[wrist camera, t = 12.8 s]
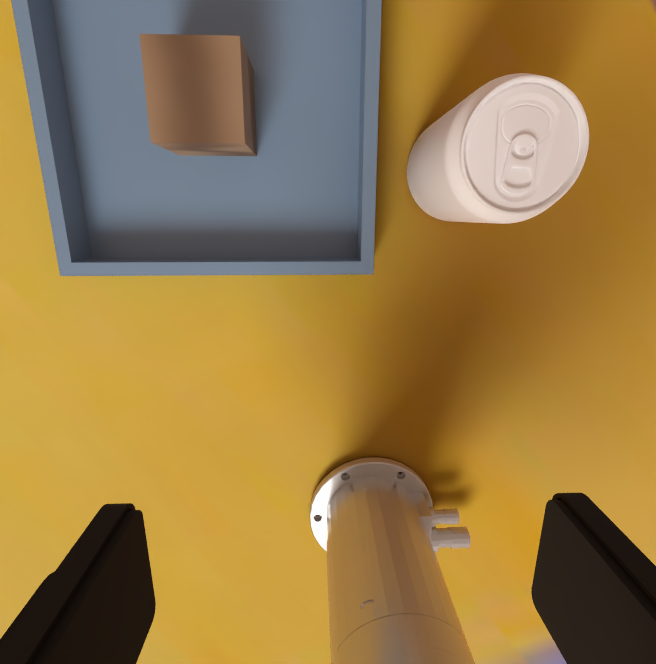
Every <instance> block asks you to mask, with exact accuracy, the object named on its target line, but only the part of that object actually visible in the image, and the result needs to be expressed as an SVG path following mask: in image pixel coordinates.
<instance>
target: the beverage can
mask: <svg viewBox="0 0 656 664" xmlns="http://www.w3.org/2000/svg"><path fill="white" fill-rule="evenodd" d="M588 146H589V126H588V121H587V117H586V114H585V111H584V108H583V106H582V104H581V103H580V101H579V99H578V98H577V97H576V95H575V94H574V93H573V92H572V91H571V90H570V89H569V88H568V87H567V86H565V85H564V84H562V83H561V82H559V81H557V80H555V79H552V78H550V77H546V76H540V75H535V74H529V73H516V74H509V75H505V76H502V77H499V78H496V79H494V80H491V81H489V82H488V83H486V84H484V85H483V86H481V87H480V88H478V89H477V90H476V91H474V92H473V93H472V94H470V95H469V96H468V97H467V98H465V99H464V100H463V101H461V102H460V103H459V104H457V105H456V106H455V107H453V108H452V109H451V110H450V111H448V112H447V113H446V114H444V115H443V116H442V117H440V118H439V119H438V120H436V121H435V122H434V123H433V124H431V125H430V126H429V127H428V128H426V129H425V130H424V131H423V132H422V134H421V135H420V136H419V137H418V139H417V140H416V142H415V144H414V145H413V147H412V150H411V152H410V155H409V159H408V164H407V181H408V186H409V189H410V192H411V195H412V197H413V199H414V200H415V202H416V203H417V204H418V206H419V207H420V208H421V209H422V210H423V211H424V212H426V213H427V214H429V215H430V216H432V217H434V218H436V219H439V220H443V221H452V222H475V223H498V224H509V223H517V222H521V221H524V220H528V219H530V218H532V217H535V216H537V215H539V214H540V213H542V212H544V211H545V210H547V209H548V208H549V207H551V206H552V205H553V204H554V203H555V202H556V201H558V200H559V199H560V198H561V197H562V196H563V195H564V194H565V193H566V192H567V191H568V190H569V189H570V188H571V187H572V185H573V184H574V182H575V181H576V179H577V178H578V176H579V174H580V172H581V170H582V168H583V166H584V163H585V160H586V156H587V152H588Z"/></svg>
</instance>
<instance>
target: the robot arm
mask: <svg viewBox="0 0 656 664" xmlns="http://www.w3.org/2000/svg"><path fill="white" fill-rule="evenodd" d="M441 523H445V524H459V513H458V510H457V509H443V510H434V509H433V504H432V500H431V497H430V494H429V491H428V489H427V487H426V485H425V483H424V482H423V480H422V479H421V478H420V476H419V475H418V474H417V473H416V472H414V471H413V470H412V469H411V468H409V467H408V466H406V465H404V464H402V463H400V462H397V461H394V460H391V459H386V458H380V457H370V458H362V459H356V460H353V461H350V462H347V463H345V464H343V465H341V466H339V467H337V468H336V469H334V470H333V471H331V472H330V473H329V474H328V475H327V476H325V477H324V479H323V480H322V481H321V482H320V484H319V485H318V486H317V488H316V490H315V492H314V494H313V497H312V501H311V504H310V524H311V528H312V531H313V534H314V536H315V538H316V540H317V541H318V543H319V544H320V545H321V546H322V548H323V549H324V550H325V551H326V552H327V575H328V600H329V624H330V648H331V664H475V663H474V660H473V657H472V654H471V652H470V649H469V646H468V644H467V641H466V639H465V636H464V633H463V630H462V628H461V625H460V622H459V619H458V617H457V614H456V611H455V608H454V605H453V603H452V600H451V597H450V594H449V592H448V589H447V586H446V583H445V581H444V578H443V575H442V572H441V569H440V567H439V564H438V561H437V558H436V556H435V553H434V552H437V551H438V548H440V547H450V548H451V549H452V548H469V547H470V536H469V532H468V529H467V528H466V527H447V528H436V527H435V524H441ZM532 599H533V603H534V605H535V608H536V610H537V612H538V613H539V615H540V617H541V619H542V620H543V622H544V624H545V626H546V627H547V629H548V631H549V633H550V634H551V636H552V638H553V640H554V642H555V643H556V645H557V647H558V649H559V650H560V652H561V654H562V656H563V657H564V659H565V661H566V663H567V664H656V566H655V565H654V564H653V563H652V562H651V561H650V560H649V559H648V558H647V557H646V556H645V555H644V554H643V553H642V552H641V551H640V550H639V549H638V548H637V547H636V546H635V545H634V544H633V543H632V541H631V540H630V539H629V538H628V537H627V536H626V535H625V534H624V533H623V532H622V531H621V530H620V529H619V528H618V527H617V526H616V525H615V524H614V523H613V522H612V521H611V520H610V519H609V518H608V517H607V516H606V515H605V514H604V513H603V512H602V511H601V510H600V509H599V508H598V507H597V506H596V505H595V504H594V503H593V502H592V501H591V500H590V499H589V498H588V497H587V496H586V495H585V494H583V493H557V494H555V495H554V496H553V499H552V500H549V501H548V502H547V504H546V509H545V514H544V520H543V526H542V532H541V538H540V544H539V550H538V555H537V561H536V567H535V573H534V579H533V585H532ZM155 605H156V604H155V595H154V589H153V582H152V575H151V568H150V561H149V554H148V548H147V541H146V534H145V527H144V520H143V514H142V512H141V511H140V510H135V507H134V505H133V504H131V503H129V504H106V505H104V506H103V507H102V508H101V509H100V510H99V511H98V513H97V514H96V516H95V517H94V518H93V520H92V521H91V523H90V524H89V525H88V527H87V528H86V529H85V531H84V532H83V534H82V535H81V536H80V538H79V539H78V540H77V542H76V543H75V545H74V546H73V547H72V549H71V550H70V552H69V553H68V554H67V556H66V557H65V558H64V560H63V561H62V563H61V564H60V565H59V567H58V568H57V569H56V571H55V572H53V573H51V574H50V575H49V576H48V577H47V578H46V579H45V580H44V581H43V582H42V584H41V585H40V586H39V588H38V589H37V590H36V592H35V593H34V594H33V596H32V597H31V598H30V600H29V601H28V603H27V604H26V605H25V607H24V608H23V609H22V611H21V612H20V613H19V615H18V616H17V617H16V619H15V620H14V622H13V623H12V624H11V626H10V627H9V628H8V630H7V631H6V632H5V634H4V635H3V636H2V638H1V639H0V664H136V662H137V660H138V657H139V655H140V652H141V649H142V647H143V644H144V642H145V639H146V637H147V634H148V632H149V629H150V627H151V624H152V621H153V618H154V614H155Z"/></svg>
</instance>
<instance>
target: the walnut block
mask: <svg viewBox="0 0 656 664" xmlns="http://www.w3.org/2000/svg"><path fill="white" fill-rule="evenodd" d="M139 35H140V45H141V55H142V64H143V74H144V83H145V93H146V103H147V112H148V122H149V131H150V141H151V143H153V144H155V145H158V146H160V147H162V148H164V149H166V150H169V151H171V152H173V153H175V154H178V155H180V156H257V144H256V118H255V93H254V69H253V67H252V65H251V62H250V60H249V57H248V55H247V52H246V50H245V47H244V45H243V42H242V40H241V37H240V36H228V35H178V34H139Z"/></svg>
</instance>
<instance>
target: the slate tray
mask: <svg viewBox="0 0 656 664" xmlns="http://www.w3.org/2000/svg"><path fill="white" fill-rule="evenodd" d="M11 2H12V7H13V13H14V19H15V24H16V30H17V36H18V41H19V47H20V52H21V58H22V64H23V69H24V75H25V81H26V86H27V92H28V97H29V103H30V109H31V114H32V120H33V125H34V131H35V137H36V142H37V148H38V154H39V159H40V165H41V170H42V176H43V182H44V187H45V193H46V198H47V204H48V210H49V215H50V221H51V227H52V232H53V238H54V243H55V249H56V255H57V260H58V266H59V272H60V276H137V275H339V274H373V272H374V239H375V206H376V173H377V140H378V106H379V73H380V40H381V7H382V0H11ZM139 34H178V35H228V36H240V37H241V40H242V42H243V45H244V47H245V50H246V52H247V55H248V57H249V60H250V62H251V65H252V67H253V69H254V93H255V118H256V144H257V156H180V155H178V154H175V153H173V152H171V151H169V150H166V149H164V148H162V147H160V146H158V145H155V144H153V143H151V141H150V131H149V122H148V112H147V103H146V93H145V83H144V74H143V64H142V55H141V45H140V35H139Z"/></svg>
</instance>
